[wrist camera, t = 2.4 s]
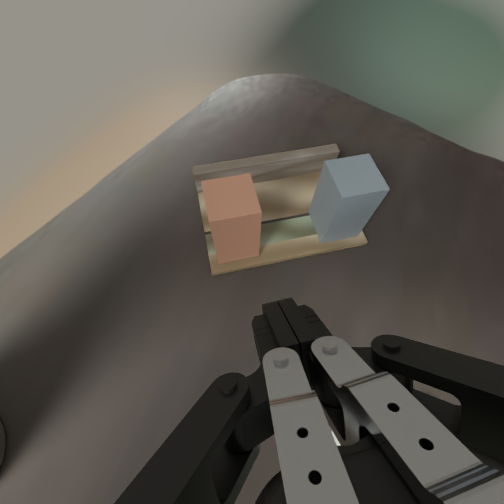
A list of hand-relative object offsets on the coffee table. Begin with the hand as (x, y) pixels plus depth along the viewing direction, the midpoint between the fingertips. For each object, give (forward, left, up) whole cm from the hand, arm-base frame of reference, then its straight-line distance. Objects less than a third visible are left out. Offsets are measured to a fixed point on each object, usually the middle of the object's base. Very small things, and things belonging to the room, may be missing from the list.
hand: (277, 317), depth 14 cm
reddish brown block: (-5, +13, -17) cm, 22 cm away
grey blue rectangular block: (+7, +18, -17) cm, 25 cm away
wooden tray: (0, +19, -17) cm, 25 cm away
